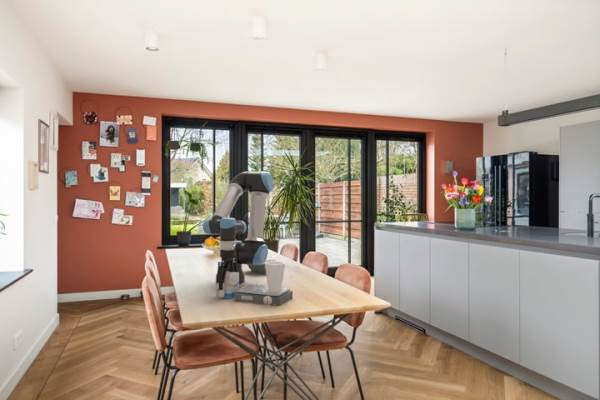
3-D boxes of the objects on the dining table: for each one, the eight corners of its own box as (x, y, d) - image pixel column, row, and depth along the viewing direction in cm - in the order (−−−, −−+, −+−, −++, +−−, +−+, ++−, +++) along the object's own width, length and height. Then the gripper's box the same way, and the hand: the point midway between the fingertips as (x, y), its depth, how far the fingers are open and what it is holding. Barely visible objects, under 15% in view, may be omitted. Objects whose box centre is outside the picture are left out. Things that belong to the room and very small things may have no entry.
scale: (233, 301, 199) (233, 292, 198) (249, 294, 213) (249, 285, 213) (279, 306, 190) (279, 297, 190) (292, 298, 204) (292, 290, 204)
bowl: (281, 271, 272) (281, 256, 272) (263, 276, 256) (263, 261, 256) (257, 268, 283) (257, 254, 283) (238, 273, 266) (238, 258, 266)
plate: (236, 291, 199) (236, 289, 199) (250, 286, 211) (250, 284, 211) (278, 296, 191) (278, 294, 191) (289, 290, 203) (289, 288, 203)
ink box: (239, 295, 209) (239, 272, 209) (229, 299, 201) (229, 275, 201) (225, 293, 212) (225, 270, 212) (215, 297, 205) (215, 273, 204)
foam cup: (285, 292, 195) (285, 264, 195) (265, 292, 194) (266, 264, 193) (283, 287, 204) (283, 261, 204) (264, 288, 203) (264, 261, 203)
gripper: (221, 252, 194) (221, 300, 195) (245, 246, 215) (245, 289, 216) (208, 251, 197) (208, 298, 198) (233, 246, 218) (232, 288, 218)
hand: (227, 293), depth 207 cm, fingers open, 10 cm apart
